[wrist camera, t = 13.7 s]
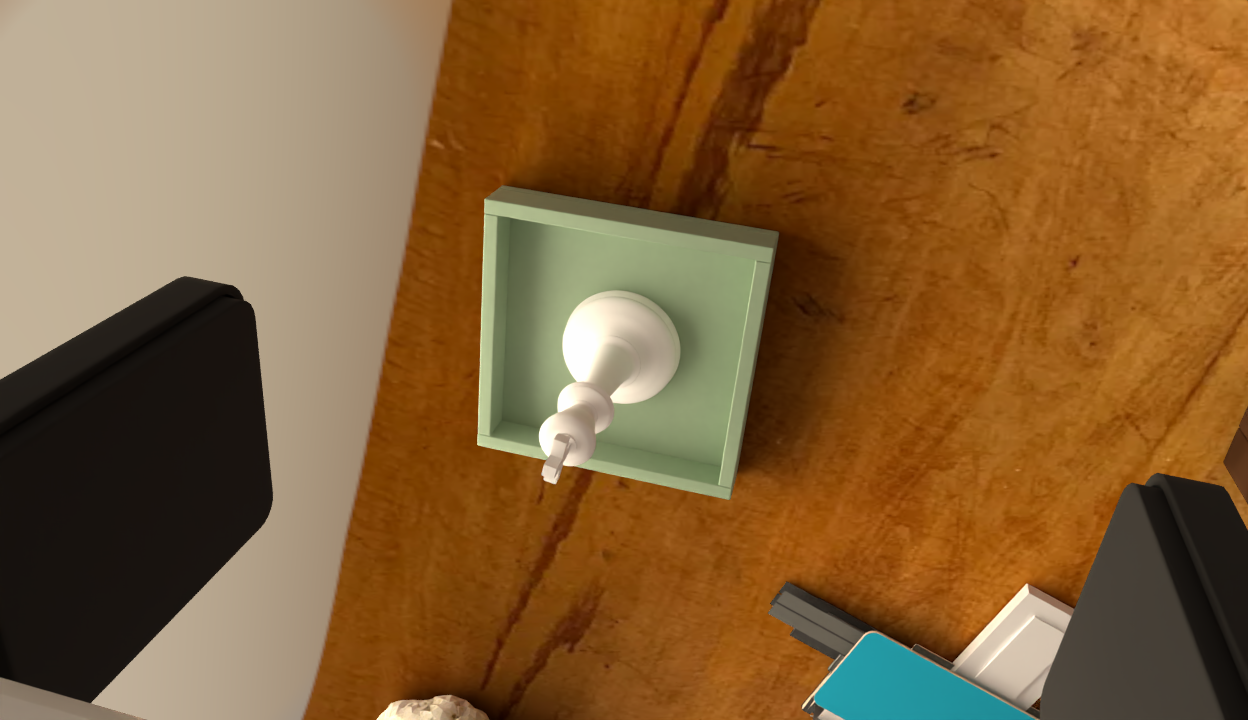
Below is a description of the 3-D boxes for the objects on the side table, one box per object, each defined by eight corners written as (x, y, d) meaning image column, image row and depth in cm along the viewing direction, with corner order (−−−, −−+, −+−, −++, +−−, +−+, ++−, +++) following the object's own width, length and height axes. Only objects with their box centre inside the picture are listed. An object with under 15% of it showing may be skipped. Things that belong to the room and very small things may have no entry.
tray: (502, 184, 39) (484, 198, 37) (779, 231, 37) (774, 248, 35) (493, 423, 44) (476, 445, 42) (736, 475, 42) (730, 500, 40)
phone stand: (1272, 716, 41) (1287, 746, 40) (1089, 862, 47) (1095, 894, 45) (856, 488, 41) (854, 510, 40) (724, 663, 47) (719, 687, 45)
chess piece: (554, 375, 42) (466, 504, 33) (579, 273, 39) (491, 383, 31) (662, 413, 41) (602, 555, 32) (695, 312, 39) (639, 435, 30)
